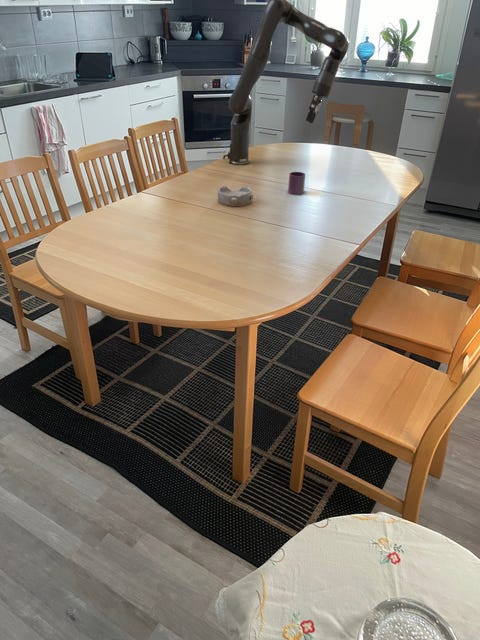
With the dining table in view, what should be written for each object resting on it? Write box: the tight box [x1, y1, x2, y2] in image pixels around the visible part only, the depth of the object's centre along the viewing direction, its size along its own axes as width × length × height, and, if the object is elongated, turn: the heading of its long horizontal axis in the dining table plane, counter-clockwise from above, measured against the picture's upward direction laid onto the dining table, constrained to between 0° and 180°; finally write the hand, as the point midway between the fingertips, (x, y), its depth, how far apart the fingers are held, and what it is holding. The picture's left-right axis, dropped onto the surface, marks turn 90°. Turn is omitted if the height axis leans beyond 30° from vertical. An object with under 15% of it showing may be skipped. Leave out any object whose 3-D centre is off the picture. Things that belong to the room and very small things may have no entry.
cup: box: [287, 171, 306, 196], centre depth 214 cm, size 7×7×8 cm
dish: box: [217, 185, 254, 207], centre depth 203 cm, size 14×14×5 cm
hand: (309, 122), depth 218 cm, fingers open, 8 cm apart
